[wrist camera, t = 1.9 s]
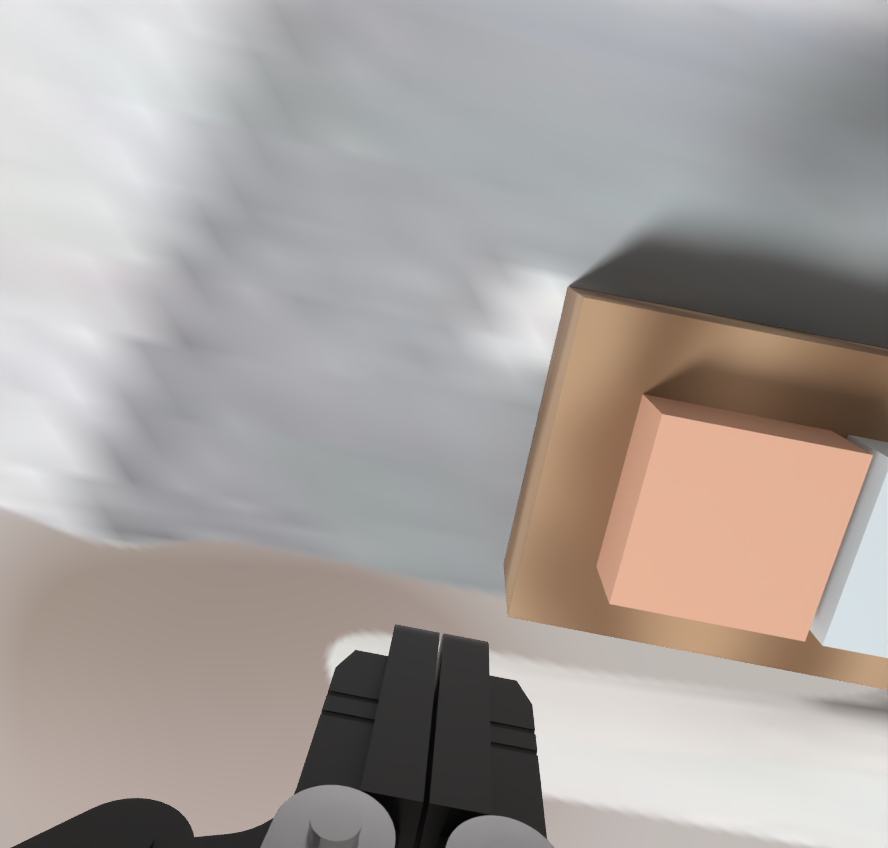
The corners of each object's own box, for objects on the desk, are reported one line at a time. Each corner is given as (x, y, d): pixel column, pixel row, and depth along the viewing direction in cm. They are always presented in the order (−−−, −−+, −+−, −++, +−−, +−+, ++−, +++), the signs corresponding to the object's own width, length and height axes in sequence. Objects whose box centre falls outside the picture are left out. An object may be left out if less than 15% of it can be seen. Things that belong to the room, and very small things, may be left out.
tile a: (596, 566, 24) (609, 604, 22) (642, 394, 23) (662, 413, 20) (772, 600, 24) (804, 641, 22) (831, 430, 23) (873, 454, 20)
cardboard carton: (503, 564, 29) (507, 616, 25) (568, 286, 26) (583, 297, 22) (949, 650, 29) (1022, 715, 25) (1064, 383, 26) (1165, 410, 22)
